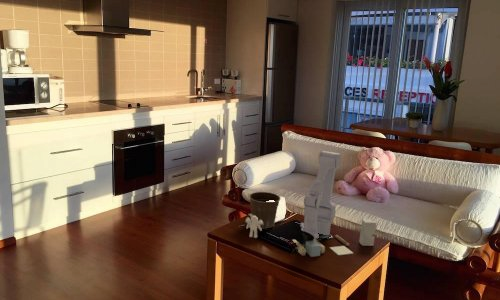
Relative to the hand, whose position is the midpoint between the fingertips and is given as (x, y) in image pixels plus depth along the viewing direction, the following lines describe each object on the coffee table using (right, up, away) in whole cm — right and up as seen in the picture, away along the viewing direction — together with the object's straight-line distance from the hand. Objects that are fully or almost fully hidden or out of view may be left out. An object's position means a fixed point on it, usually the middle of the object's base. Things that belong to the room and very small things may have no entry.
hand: (307, 246), depth 210 cm
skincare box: (+30, -1, +10) cm, 32 cm away
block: (+2, -2, -4) cm, 5 cm away
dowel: (+18, 0, +11) cm, 21 cm away
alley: (0, -1, 0) cm, 1 cm away
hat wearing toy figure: (-26, +3, +11) cm, 28 cm away
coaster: (+16, -2, +1) cm, 16 cm away
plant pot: (-21, +5, +25) cm, 33 cm away
